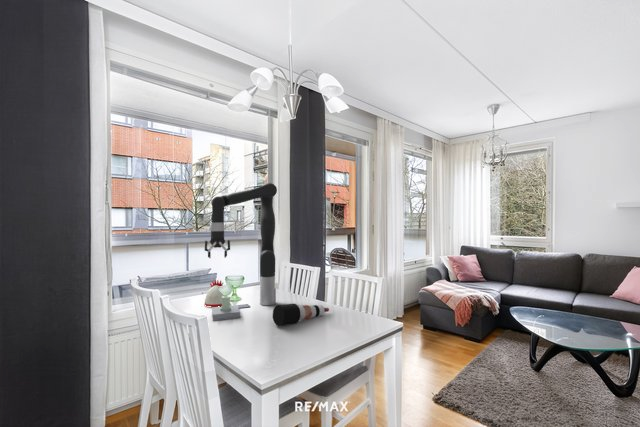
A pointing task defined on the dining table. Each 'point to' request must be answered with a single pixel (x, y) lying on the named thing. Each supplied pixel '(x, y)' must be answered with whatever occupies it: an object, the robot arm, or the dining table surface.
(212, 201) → the robot arm
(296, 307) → the bottle
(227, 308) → the block
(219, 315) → the plate
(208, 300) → the kitchen timer
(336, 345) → the dining table surface
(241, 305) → the panel
